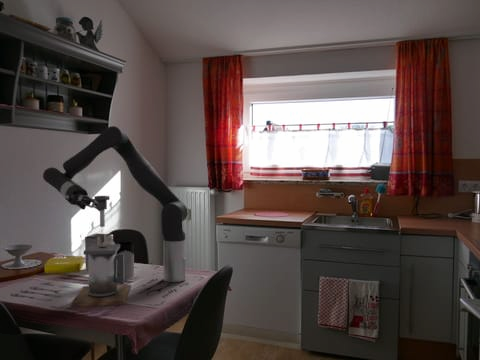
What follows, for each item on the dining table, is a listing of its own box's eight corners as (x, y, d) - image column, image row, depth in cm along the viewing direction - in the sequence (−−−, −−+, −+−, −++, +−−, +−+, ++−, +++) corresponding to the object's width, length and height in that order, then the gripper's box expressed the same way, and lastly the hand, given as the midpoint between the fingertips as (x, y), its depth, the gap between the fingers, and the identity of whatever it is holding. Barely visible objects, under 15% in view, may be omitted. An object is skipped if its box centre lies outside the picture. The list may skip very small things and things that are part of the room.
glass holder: (114, 281, 171) (114, 246, 170) (113, 272, 184) (112, 239, 183) (136, 279, 174) (135, 244, 173) (133, 270, 187) (132, 238, 186)
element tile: (43, 275, 181) (43, 264, 180) (50, 266, 195) (50, 256, 195) (79, 273, 184) (79, 262, 184) (83, 264, 199) (83, 254, 199)
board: (130, 288, 162) (130, 284, 162) (124, 304, 144) (124, 300, 144) (83, 290, 159) (83, 286, 159) (71, 306, 142) (71, 302, 142)
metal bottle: (102, 285, 165) (101, 237, 164) (99, 281, 171) (99, 234, 170) (118, 283, 168) (118, 235, 167) (115, 279, 174) (114, 232, 173)
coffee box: (96, 266, 194) (95, 233, 193) (108, 267, 193) (108, 233, 192) (85, 271, 185) (84, 236, 184) (97, 272, 184) (97, 237, 183)
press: (126, 287, 158) (125, 243, 157) (121, 297, 147) (121, 250, 146) (91, 288, 156) (90, 244, 155) (84, 298, 145) (83, 251, 145)
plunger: (110, 225, 153) (110, 195, 153) (108, 227, 148) (108, 197, 147) (96, 225, 153) (96, 195, 152) (93, 227, 147) (93, 197, 147)
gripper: (61, 181, 162) (82, 197, 152) (92, 187, 173) (112, 203, 164) (54, 198, 162) (74, 215, 153) (85, 203, 174) (105, 219, 164)
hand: (94, 208), depth 158 cm, fingers open, 8 cm apart
